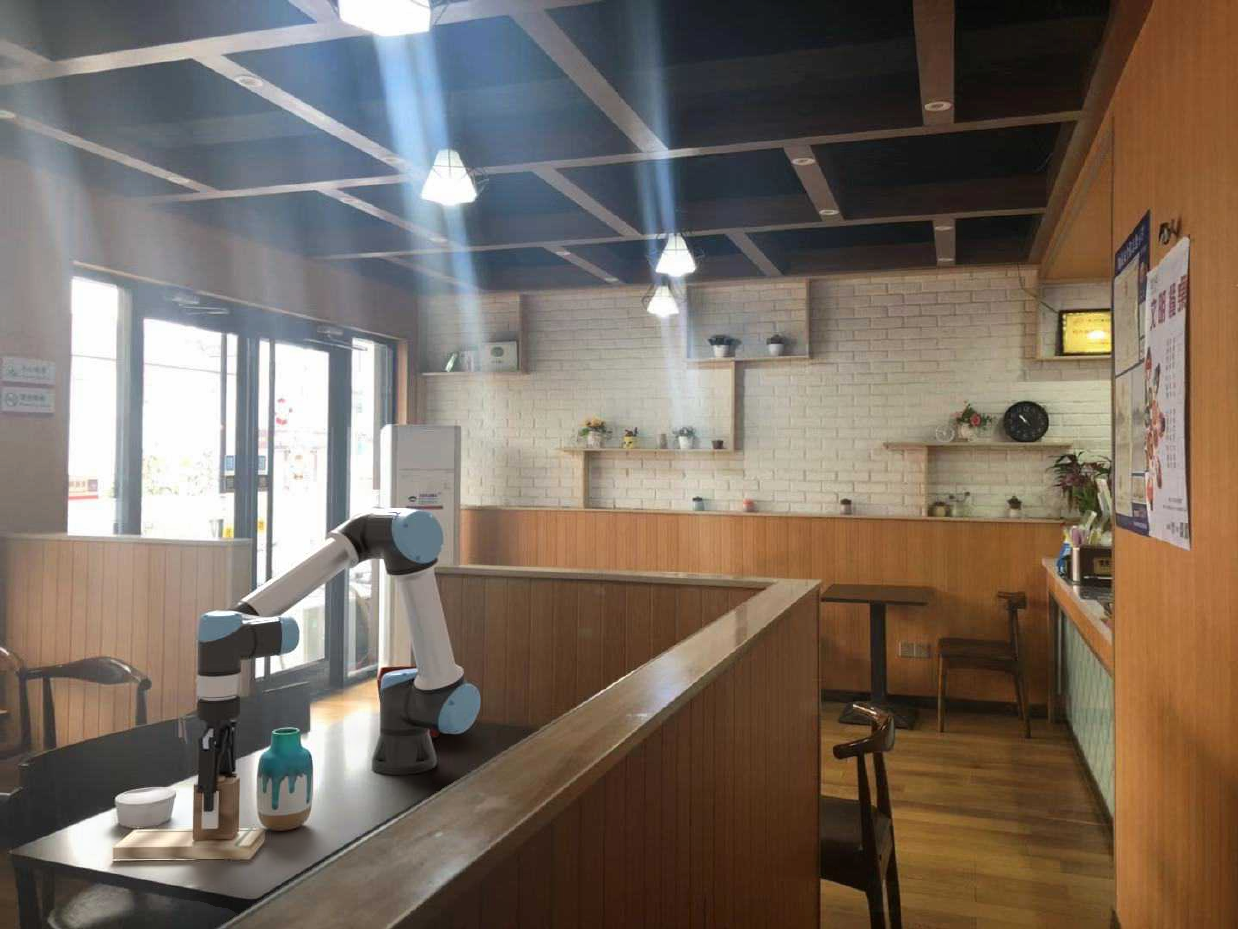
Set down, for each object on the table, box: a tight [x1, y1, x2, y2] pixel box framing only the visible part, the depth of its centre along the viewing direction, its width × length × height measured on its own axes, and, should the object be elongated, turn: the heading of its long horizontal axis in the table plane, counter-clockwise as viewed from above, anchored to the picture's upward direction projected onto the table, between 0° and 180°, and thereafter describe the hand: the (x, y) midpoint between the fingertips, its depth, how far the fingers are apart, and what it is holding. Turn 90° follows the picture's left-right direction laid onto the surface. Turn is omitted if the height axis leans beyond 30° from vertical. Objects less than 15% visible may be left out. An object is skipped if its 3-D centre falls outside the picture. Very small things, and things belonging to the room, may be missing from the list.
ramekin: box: [114, 786, 177, 829], centre depth 196 cm, size 11×11×5 cm
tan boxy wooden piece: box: [192, 776, 241, 840], centre depth 182 cm, size 7×8×11 cm
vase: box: [255, 727, 314, 832], centre depth 192 cm, size 11×11×19 cm
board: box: [112, 827, 266, 861], centre depth 180 cm, size 24×9×3 cm, turn 94°
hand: (216, 821), depth 180 cm, fingers open, 6 cm apart
